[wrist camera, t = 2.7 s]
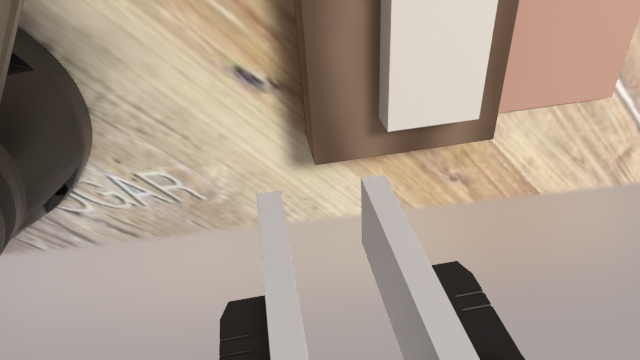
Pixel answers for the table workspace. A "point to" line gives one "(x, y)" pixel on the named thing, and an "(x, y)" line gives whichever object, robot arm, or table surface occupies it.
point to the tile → (433, 60)
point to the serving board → (375, 83)
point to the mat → (566, 51)
